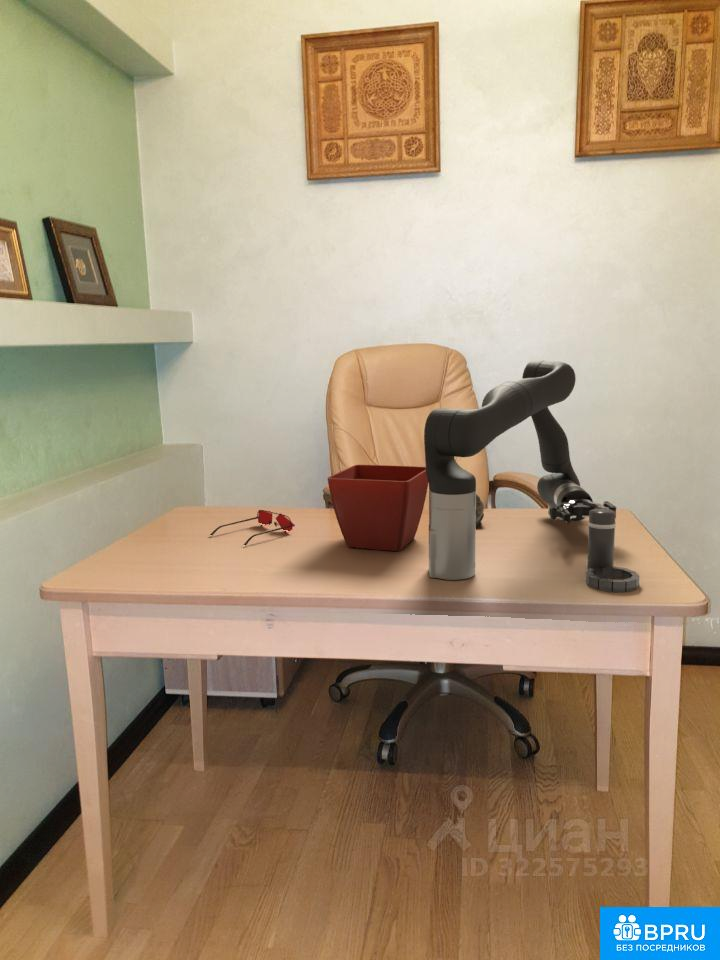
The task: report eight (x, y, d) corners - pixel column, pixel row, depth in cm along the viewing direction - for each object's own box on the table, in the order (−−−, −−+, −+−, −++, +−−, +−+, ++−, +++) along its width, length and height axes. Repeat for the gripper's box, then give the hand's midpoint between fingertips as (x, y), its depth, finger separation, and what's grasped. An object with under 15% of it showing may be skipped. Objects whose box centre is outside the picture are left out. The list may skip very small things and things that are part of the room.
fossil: (451, 529, 184) (443, 490, 187) (439, 538, 193) (431, 500, 195) (492, 524, 187) (483, 485, 190) (478, 532, 195) (470, 496, 198)
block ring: (593, 592, 140) (593, 581, 140) (581, 576, 149) (581, 566, 149) (644, 592, 139) (645, 581, 139) (629, 575, 149) (630, 566, 148)
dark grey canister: (590, 573, 151) (592, 515, 148) (584, 565, 156) (586, 508, 153) (616, 573, 150) (619, 514, 148) (609, 565, 155) (612, 508, 153)
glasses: (296, 535, 186) (295, 515, 185) (242, 549, 174) (241, 528, 173) (260, 526, 195) (259, 507, 194) (207, 539, 184) (205, 519, 183)
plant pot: (357, 529, 188) (355, 463, 185) (431, 535, 181) (431, 466, 178) (327, 550, 170) (325, 477, 167) (409, 557, 164) (408, 481, 161)
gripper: (542, 486, 178) (555, 502, 162) (603, 485, 177) (623, 501, 161) (541, 516, 180) (555, 535, 164) (602, 516, 179) (621, 534, 163)
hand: (588, 518), depth 163 cm, fingers open, 8 cm apart
